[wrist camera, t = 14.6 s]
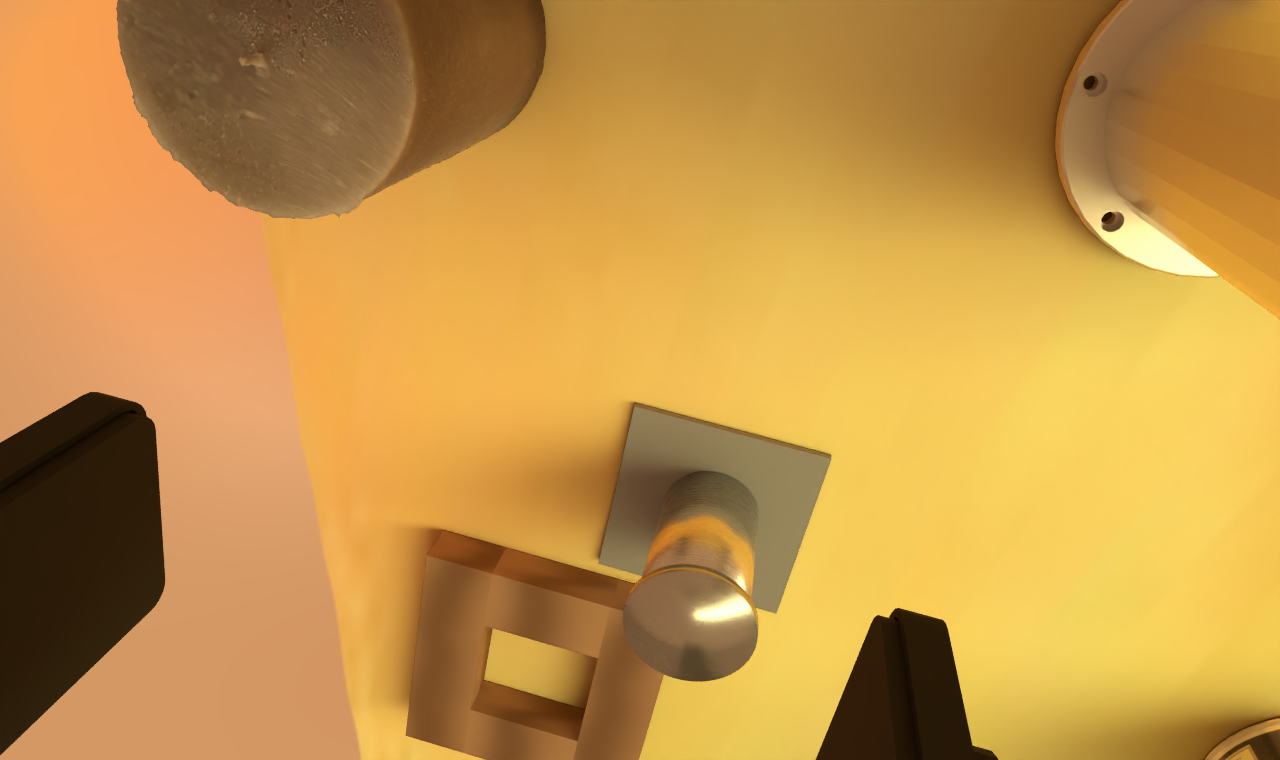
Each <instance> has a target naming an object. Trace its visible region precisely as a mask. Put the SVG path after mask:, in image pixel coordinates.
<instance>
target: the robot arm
mask: <svg viewBox="0 0 1280 760" xmlns="http://www.w3.org/2000/svg"><path fill="white" fill-rule="evenodd" d="M1089 76H1094V78H1095V84H1094V85H1093V86H1092V87H1091V88H1089V89H1085V88H1084V86H1083V84H1084V81H1085V79H1086V78H1087V77H1089ZM1055 151H1056V158H1057V165H1058V172H1059V177H1060V179H1061V182H1062V185H1063V187H1064V190H1065V193H1066V195H1067V198H1068V200H1069V203H1070V204H1071V206H1072V207H1073V209H1074V210H1075V211H1076V213H1077V214H1078V216H1079V217H1080V219H1081V220H1082V222H1083V223H1084V225H1085V226H1086V227H1087V228H1088V229H1089V230H1090V231H1091V232H1092V233H1093V234H1094V235H1095V236H1096V237H1097V238H1098V239H1099V240H1101V241H1102V242H1103V243H1104V244H1106V245H1107V246H1109V247H1110V248H1111V249H1113V250H1114V251H1115V252H1117V253H1118V254H1119V255H1121V256H1122V257H1124V258H1126V259H1128V260H1131V261H1133V262H1135V263H1137V264H1139V265H1141V266H1143V267H1146V268H1148V269H1152V270H1156V271H1160V272H1164V273H1168V274H1172V275H1176V276H1189V277H1205V278H1212V277H1222V278H1223V279H1225V280H1226V281H1228V282H1229V283H1230V284H1232V285H1233V286H1234V287H1236V288H1237V289H1239V290H1240V291H1241V292H1243V293H1244V294H1245V295H1247V296H1248V297H1250V298H1251V299H1252V300H1254V301H1255V302H1256V303H1258V304H1259V305H1261V306H1262V307H1263V308H1265V309H1266V310H1267V311H1269V312H1270V313H1272V314H1273V315H1274V316H1276V317H1277V318H1278V319H1280V0H1121V2H1120V3H1119V4H1118V5H1117V6H1116V7H1115V8H1114V9H1113V10H1112V11H1111V12H1110V13H1109V14H1108V15H1107V17H1106V18H1105V19H1104V20H1103V21H1102V22H1101V23H1100V24H1099V25H1098V27H1097V28H1096V30H1095V31H1094V33H1093V34H1092V36H1091V37H1090V39H1089V40H1088V42H1087V43H1086V45H1085V46H1084V48H1083V49H1082V51H1081V52H1080V54H1079V56H1078V58H1077V60H1076V62H1075V64H1074V66H1073V69H1072V71H1071V73H1070V75H1069V77H1068V80H1067V82H1066V84H1065V87H1064V91H1063V95H1062V98H1061V102H1060V106H1059V110H1058V114H1057V122H1056V138H1055ZM1108 212H1112V217H1111V218H1110V220H1108V221H1106V222H1102V221H1101V218H1102V217H1103V216H1104V215H1105V214H1106V213H1108ZM164 586H165V569H164V554H163V539H162V522H161V508H160V491H159V475H158V461H157V444H156V429H155V425H154V423H153V421H152V420H151V419H149V418H148V417H147V416H146V411H145V410H144V408H143V407H142V405H140V404H138V403H136V402H132V401H129V400H125V399H121V398H118V397H114V396H110V395H107V394H102V393H99V392H90V393H87V394H85V395H83V396H81V397H79V398H77V399H76V400H74V401H72V402H70V403H69V404H67V405H65V406H63V407H62V408H60V409H58V410H56V411H55V412H53V413H51V414H49V415H48V416H46V417H44V418H43V419H41V420H39V421H37V422H36V423H34V424H32V425H31V426H29V427H27V428H25V429H24V430H22V431H20V432H18V433H17V434H15V435H13V436H11V437H9V438H8V439H6V440H4V441H2V442H1V443H0V755H1V754H2V753H3V752H4V751H5V750H6V749H7V748H8V747H9V746H10V745H11V744H13V743H14V742H15V741H16V740H17V739H18V738H19V737H20V736H21V735H22V734H23V733H24V732H25V731H26V730H27V729H28V728H29V727H30V726H31V725H32V724H33V723H34V722H35V721H36V720H38V719H39V718H40V717H41V716H42V715H43V714H44V713H45V712H46V711H47V710H48V709H49V708H50V707H51V706H52V705H53V704H54V703H55V702H56V701H57V700H58V699H59V698H60V697H61V696H63V694H65V693H66V692H67V691H68V690H69V689H70V688H71V687H72V686H73V685H74V684H75V683H76V682H77V681H78V680H79V679H80V678H81V677H82V676H83V675H84V674H85V673H86V672H88V671H89V670H90V668H92V667H93V666H94V665H95V664H96V663H97V662H98V661H99V660H100V659H101V658H102V657H103V656H104V655H105V654H106V653H107V652H108V651H109V650H110V649H111V648H112V647H114V645H116V643H118V642H119V641H120V640H121V639H122V638H123V637H124V636H125V635H126V634H127V633H128V632H129V631H130V630H131V629H132V628H133V627H134V626H135V625H136V624H137V623H139V622H140V621H141V620H142V619H143V618H144V617H145V616H146V615H147V614H148V613H149V612H150V611H151V610H152V609H153V608H154V607H155V605H156V604H157V602H158V601H159V599H160V597H161V595H162V593H163V589H164ZM816 760H998V758H997V757H996V756H995V755H994V753H993V752H992V751H990V750H986V749H982V748H979V747H975V746H972V742H971V737H970V732H969V727H968V723H967V718H966V713H965V709H964V704H963V699H962V694H961V690H960V685H959V680H958V675H957V671H956V666H955V661H954V657H953V652H952V647H951V642H950V638H949V633H948V628H947V626H946V623H945V622H944V621H943V620H941V619H937V618H933V617H930V616H926V615H922V614H919V613H915V612H911V611H908V610H904V609H900V608H897V609H895V610H894V611H893V612H892V613H891V615H890V617H889V618H887V617H883V616H879V615H877V616H876V617H875V618H874V619H873V621H872V623H871V626H870V628H869V630H868V633H867V635H866V638H865V640H864V643H863V645H862V648H861V650H860V653H859V655H858V657H857V660H856V662H855V665H854V667H853V670H852V672H851V675H850V677H849V680H848V682H847V684H846V687H845V689H844V692H843V694H842V697H841V699H840V702H839V704H838V706H837V709H836V711H835V714H834V716H833V719H832V721H831V724H830V726H829V729H828V731H827V733H826V736H825V738H824V741H823V743H822V746H821V748H820V751H819V753H818V756H817V758H816Z"/></svg>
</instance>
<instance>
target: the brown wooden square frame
mask: <svg viewBox="0 0 1280 760" xmlns="http://www.w3.org/2000/svg"><path fill="white" fill-rule="evenodd" d="M634 585H635V584H633V583H630V582H626V581H622V580H619V579H615V578H612V577H608V576H605V575H601V574H598V573H594V572H590V571H587V570H583V569H580V568H576V567H573V566H569V565H566V564H562V563H558V562H555V561H551V560H548V559H544V558H541V557H537V556H534V555H530V554H527V553H523V552H519V551H516V550H512V549H509V548H505V547H502V546H498V545H495V544H491V543H487V542H484V541H480V540H477V539H473V538H470V537H466V536H463V535H459V534H455V533H452V532H448V531H445V530H443V532H442V533H441V535H440V536H439V538H438V539H437V541H436V542H435V544H434V545H433V547H432V548H431V550H430V551H429V553H428V554H427V558H426V566H425V575H424V583H423V592H422V600H421V609H420V617H419V626H418V634H417V643H416V651H415V660H414V668H413V677H412V685H411V694H410V702H409V711H408V719H407V728H406V736H409V737H412V738H416V739H419V740H422V741H426V742H429V743H432V744H436V745H439V746H442V747H446V748H449V749H452V750H456V751H459V752H462V753H466V754H469V755H472V756H476V757H479V758H482V759H486V760H639V757H640V754H641V750H642V747H643V744H644V740H645V737H646V733H647V730H648V727H649V723H650V720H651V716H652V713H653V709H654V706H655V703H656V699H657V696H658V692H659V689H660V685H661V682H662V679H663V675H664V674H662V673H660V672H658V671H656V670H655V669H653V668H651V667H650V666H649V665H647V664H646V663H645V662H643V661H642V660H641V659H640V658H639V657H638V656H637V655H636V654H635V652H634V651H633V650H632V648H631V647H630V645H629V644H628V641H627V639H626V637H625V634H624V631H623V624H622V616H623V611H624V607H625V603H626V600H627V597H628V595H629V593H630V591H631V589H632V587H633V586H634ZM492 628H494V629H497V630H501V631H504V632H508V633H511V634H515V635H518V636H522V637H525V638H529V639H532V640H536V641H539V642H543V643H546V644H549V645H553V646H556V647H560V648H563V649H567V650H570V651H574V652H577V653H581V654H584V655H588V656H591V657H595V658H598V660H597V664H596V669H595V673H594V677H593V681H592V685H591V689H590V693H589V697H588V701H587V705H586V710H583V709H580V708H577V707H573V706H570V705H566V704H563V703H560V702H556V701H553V700H549V699H546V698H542V697H539V696H536V695H532V694H529V693H525V692H522V691H519V690H515V689H512V688H508V687H505V686H501V685H498V684H495V683H491V682H488V681H484V676H485V670H486V664H487V658H488V652H489V646H490V640H491V634H492Z"/></svg>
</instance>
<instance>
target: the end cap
mask: <svg viewBox="0 0 1280 760" xmlns="http://www.w3.org/2000/svg"><path fill="white" fill-rule="evenodd" d="M758 522H759V509H758V505H757V502H756V500H755V498H754V496H753V494H752V493H751V492H750V490H749V489H748V488H747V487H746V486H745V485H744V484H743V483H741V482H740V481H739V480H737V479H735V478H733V477H731V476H729V475H727V474H724V473H720V472H714V471H700V472H695V473H691V474H688V475H686V476H684V477H682V478H680V479H679V480H677V481H676V482H675V483H674V484H673V485H672V486H671V487H670V488H669V490H668V491H667V493H666V495H665V498H664V501H663V505H662V508H661V512H660V516H659V519H658V523H657V526H656V530H655V534H654V537H653V541H652V544H651V548H650V552H649V555H648V559H647V562H646V566H645V570H644V573H643V577H642V578H641V579H640V580H639V581H637V582H636V584H635V585H634V586H633V587H632V589H631V591H630V593H629V595H628V597H627V600H626V603H625V607H624V611H623V616H622V624H623V631H624V634H625V637H626V639H627V641H628V644H629V645H630V647H631V648H632V650H633V651H634V652H635V654H636V655H637V656H638V657H639V658H640V659H641V660H642V661H643V662H645V663H646V664H647V665H649V666H650V667H651V668H653V669H655V670H656V671H658V672H660V673H662V674H665V675H667V676H670V677H673V678H676V679H681V680H686V681H710V680H716V679H719V678H723V677H725V676H728V675H730V674H732V673H734V672H735V671H737V670H738V669H740V668H741V667H742V666H743V665H744V664H745V663H746V662H747V661H748V660H749V659H750V657H751V656H752V654H753V652H754V650H755V647H756V643H757V637H758V616H757V611H756V609H755V606H754V604H753V602H752V600H751V597H752V587H753V576H754V565H755V554H756V543H757V532H758Z"/></svg>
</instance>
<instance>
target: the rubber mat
mask: <svg viewBox="0 0 1280 760" xmlns="http://www.w3.org/2000/svg"><path fill="white" fill-rule="evenodd" d="M830 461H831V455H829V454H826V453H822V452H818V451H814V450H811V449H807V448H803V447H799V446H796V445H792V444H788V443H784V442H781V441H777V440H773V439H769V438H766V437H762V436H758V435H754V434H751V433H747V432H743V431H739V430H736V429H732V428H728V427H724V426H721V425H717V424H713V423H709V422H706V421H702V420H698V419H694V418H691V417H687V416H683V415H679V414H676V413H672V412H668V411H664V410H661V409H657V408H653V407H649V406H646V405H642V404H638V403H636V404H635V406H634V410H633V415H632V419H631V423H630V428H629V432H628V436H627V441H626V445H625V450H624V454H623V458H622V463H621V467H620V471H619V476H618V480H617V484H616V489H615V493H614V498H613V502H612V506H611V511H610V515H609V519H608V524H607V528H606V532H605V537H604V541H603V546H602V550H601V554H600V559H599V563H598V564H602V565H605V566H609V567H612V568H616V569H620V570H623V571H627V572H630V573H634V574H637V575H641V576H643V573H644V570H645V566H646V562H647V559H648V555H649V552H650V548H651V544H652V541H653V537H654V534H655V530H656V526H657V523H658V519H659V516H660V512H661V508H662V505H663V501H664V498H665V495H666V493H667V491H668V490H669V488H670V487H671V486H672V485H673V484H674V483H675V482H676V481H677V480H679V479H680V478H682V477H684V476H686V475H688V474H691V473H695V472H700V471H714V472H720V473H724V474H727V475H729V476H731V477H733V478H735V479H737V480H739V481H740V482H741V483H743V484H744V485H745V486H746V487H747V488H748V489H749V490H750V492H751V493H752V494H753V496H754V498H755V500H756V502H757V505H758V509H759V522H758V532H757V543H756V554H755V565H754V576H753V587H752V597H751V600H752V602H753V604H754V606H755V608H759V609H762V610H766V611H769V612H773V613H777V610H778V607H779V604H780V602H781V599H782V596H783V593H784V590H785V588H786V585H787V582H788V579H789V576H790V574H791V571H792V568H793V565H794V562H795V560H796V557H797V554H798V551H799V548H800V545H801V543H802V540H803V537H804V534H805V531H806V529H807V526H808V523H809V520H810V517H811V515H812V512H813V509H814V506H815V503H816V501H817V498H818V495H819V492H820V489H821V486H822V484H823V481H824V478H825V475H826V472H827V470H828V467H829V464H830Z"/></svg>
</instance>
